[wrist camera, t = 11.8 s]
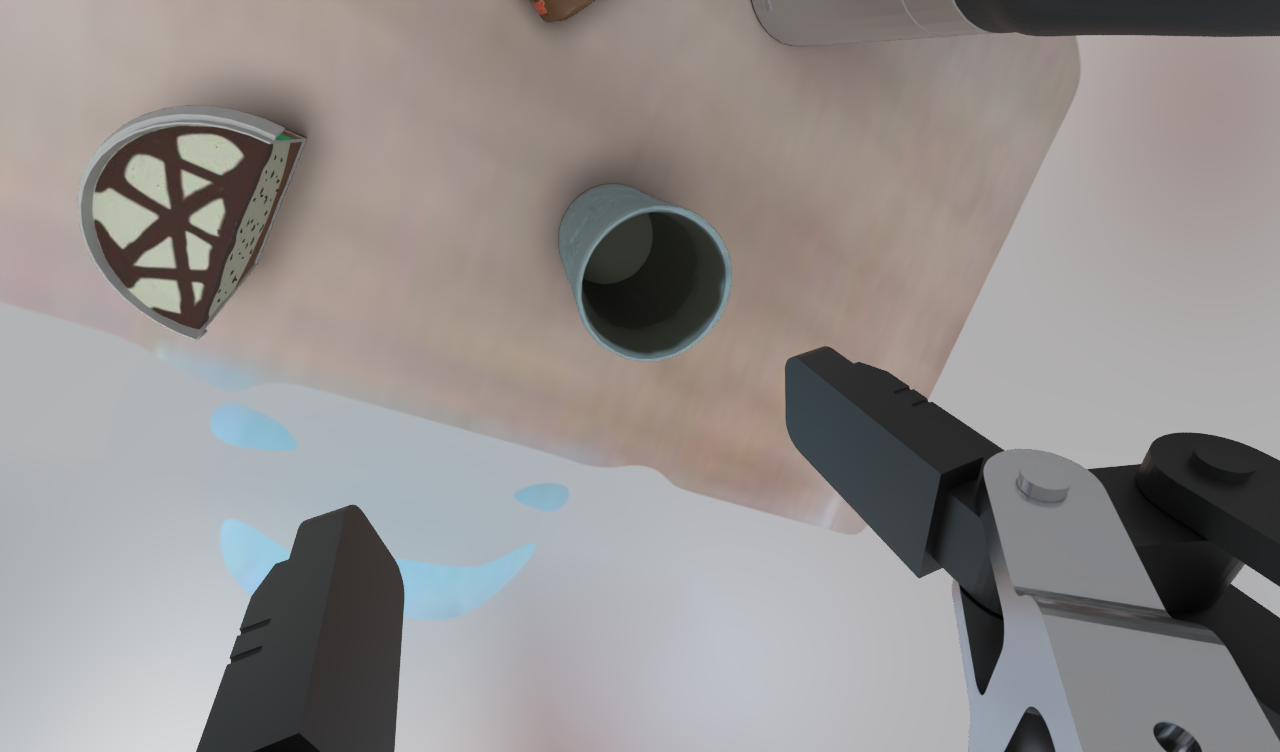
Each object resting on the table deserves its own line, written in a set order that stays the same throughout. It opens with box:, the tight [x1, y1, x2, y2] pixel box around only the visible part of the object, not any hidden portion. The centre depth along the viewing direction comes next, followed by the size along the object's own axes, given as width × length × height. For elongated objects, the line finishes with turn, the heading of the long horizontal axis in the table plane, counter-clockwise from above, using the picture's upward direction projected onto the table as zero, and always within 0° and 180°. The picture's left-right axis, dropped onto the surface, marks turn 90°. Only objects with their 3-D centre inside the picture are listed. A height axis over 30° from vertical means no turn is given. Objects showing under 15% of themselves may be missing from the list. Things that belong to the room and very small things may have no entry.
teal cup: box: [558, 184, 732, 361], centre depth 37 cm, size 10×10×12 cm
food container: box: [77, 105, 307, 340], centre depth 28 cm, size 12×6×10 cm, turn 145°
